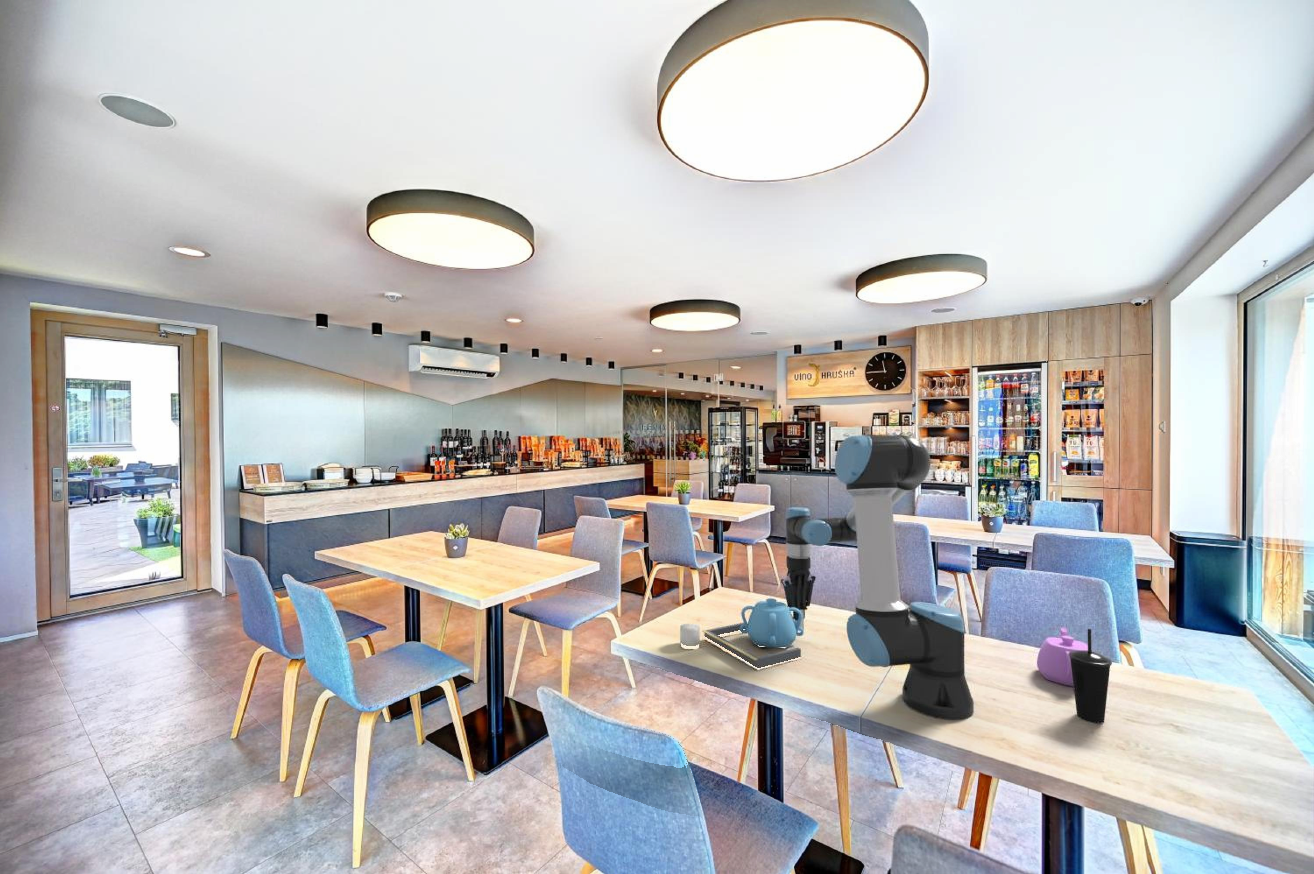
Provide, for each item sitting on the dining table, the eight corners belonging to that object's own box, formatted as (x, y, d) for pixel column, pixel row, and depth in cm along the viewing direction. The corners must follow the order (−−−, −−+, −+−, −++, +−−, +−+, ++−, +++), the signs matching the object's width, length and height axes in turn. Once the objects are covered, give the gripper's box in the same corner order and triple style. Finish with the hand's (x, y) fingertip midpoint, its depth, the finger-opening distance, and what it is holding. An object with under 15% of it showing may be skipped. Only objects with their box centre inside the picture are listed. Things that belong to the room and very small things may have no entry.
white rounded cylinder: (703, 647, 165) (703, 628, 165) (686, 651, 162) (686, 631, 162) (691, 640, 171) (691, 621, 171) (675, 644, 168) (675, 625, 168)
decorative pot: (809, 646, 165) (809, 602, 166) (769, 656, 158) (769, 610, 158) (774, 630, 180) (773, 589, 180) (735, 639, 172) (735, 596, 172)
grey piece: (800, 659, 156) (800, 647, 156) (755, 671, 148) (755, 659, 148) (744, 631, 179) (744, 621, 179) (702, 640, 171) (702, 630, 171)
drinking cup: (1115, 730, 117) (1114, 637, 117) (1071, 720, 121) (1070, 631, 121) (1109, 715, 123) (1108, 627, 123) (1067, 706, 127) (1066, 621, 127)
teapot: (1093, 669, 148) (1092, 629, 148) (1107, 700, 130) (1107, 653, 131) (1033, 659, 154) (1033, 621, 155) (1040, 687, 137) (1039, 643, 137)
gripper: (805, 551, 180) (805, 622, 180) (774, 556, 174) (775, 629, 174) (821, 555, 173) (822, 629, 173) (790, 560, 167) (791, 636, 167)
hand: (799, 629), depth 173 cm, fingers closed
